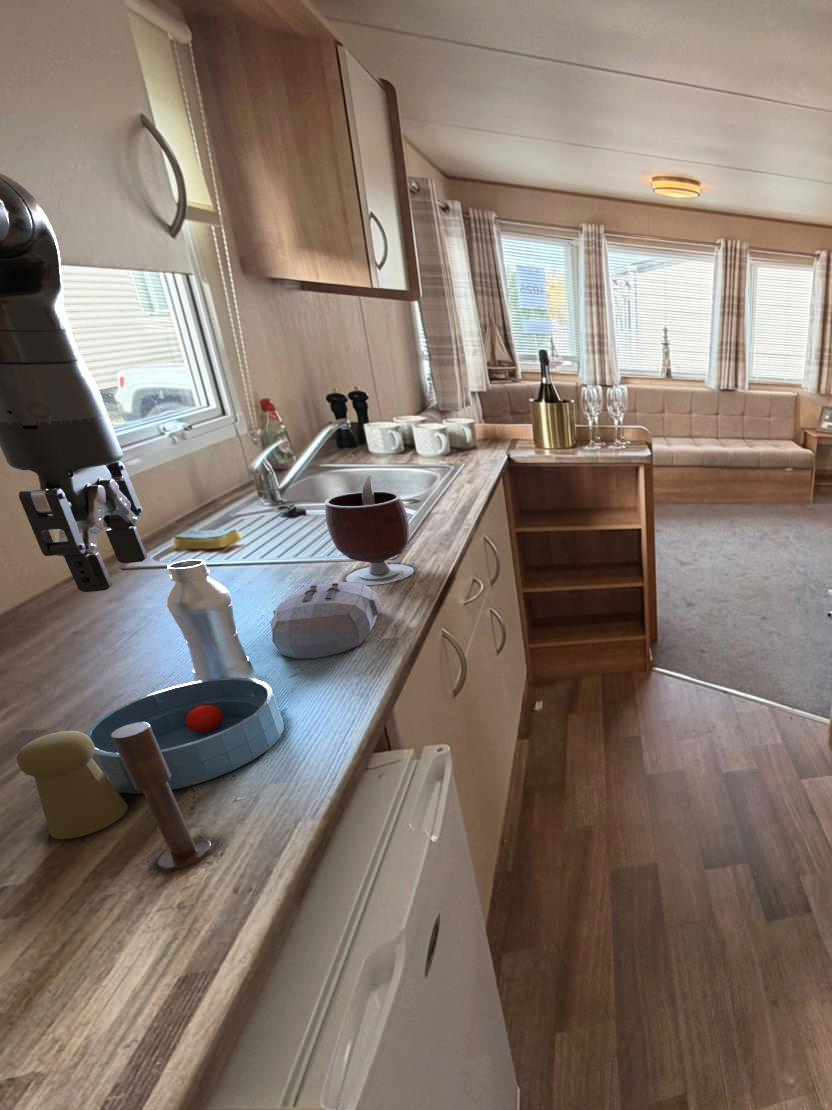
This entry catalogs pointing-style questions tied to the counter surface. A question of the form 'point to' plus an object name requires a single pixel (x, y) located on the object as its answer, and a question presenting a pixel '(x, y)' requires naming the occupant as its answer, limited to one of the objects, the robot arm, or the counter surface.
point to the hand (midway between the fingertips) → (116, 575)
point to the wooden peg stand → (158, 794)
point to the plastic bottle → (207, 623)
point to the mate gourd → (370, 532)
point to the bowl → (186, 752)
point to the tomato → (204, 718)
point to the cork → (71, 784)
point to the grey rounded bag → (324, 619)
